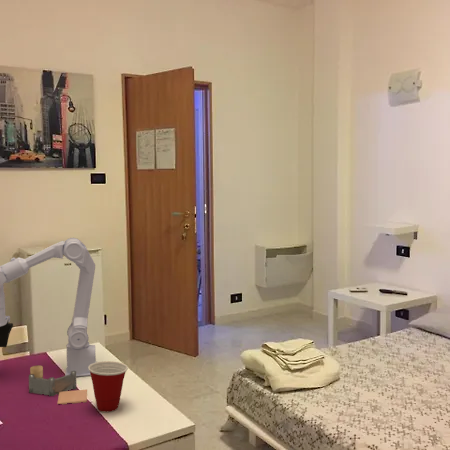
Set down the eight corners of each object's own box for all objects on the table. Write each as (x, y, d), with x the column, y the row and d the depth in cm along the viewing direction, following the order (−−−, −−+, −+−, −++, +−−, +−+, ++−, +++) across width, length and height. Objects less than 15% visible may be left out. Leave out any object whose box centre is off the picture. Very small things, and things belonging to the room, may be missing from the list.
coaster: (87, 391, 158) (87, 389, 157) (86, 402, 150) (86, 400, 150) (59, 393, 156) (59, 391, 156) (57, 404, 148) (57, 403, 148)
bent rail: (76, 387, 160) (76, 370, 160) (76, 394, 155) (75, 377, 155) (29, 391, 157) (29, 374, 157) (27, 398, 152) (26, 381, 151)
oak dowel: (43, 383, 163) (43, 365, 162) (42, 388, 159) (42, 369, 159) (31, 384, 162) (30, 365, 161) (30, 389, 158) (29, 370, 158)
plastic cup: (134, 410, 144) (133, 368, 143) (95, 419, 139) (94, 375, 138) (120, 396, 154) (120, 356, 153) (84, 404, 148) (83, 363, 147)
